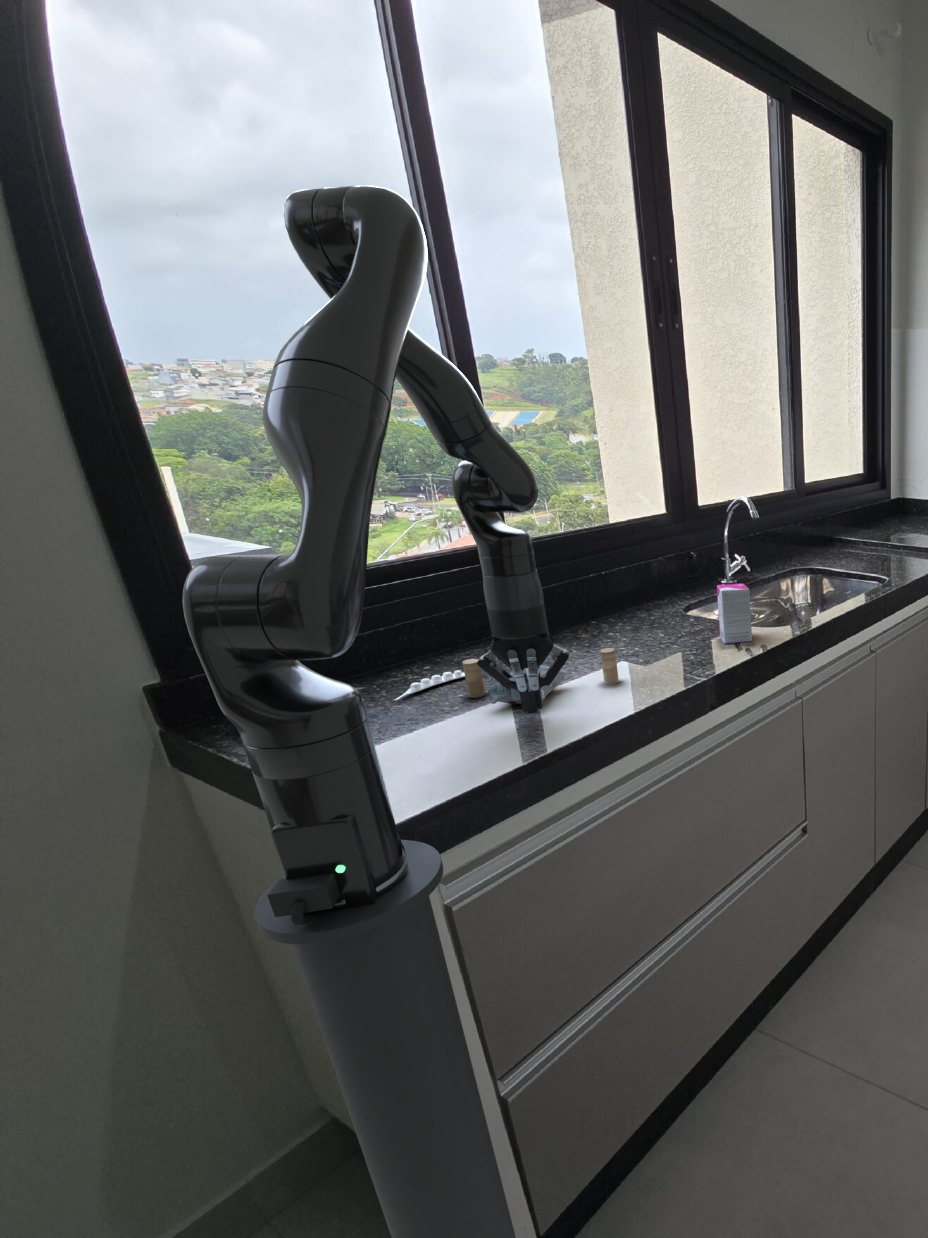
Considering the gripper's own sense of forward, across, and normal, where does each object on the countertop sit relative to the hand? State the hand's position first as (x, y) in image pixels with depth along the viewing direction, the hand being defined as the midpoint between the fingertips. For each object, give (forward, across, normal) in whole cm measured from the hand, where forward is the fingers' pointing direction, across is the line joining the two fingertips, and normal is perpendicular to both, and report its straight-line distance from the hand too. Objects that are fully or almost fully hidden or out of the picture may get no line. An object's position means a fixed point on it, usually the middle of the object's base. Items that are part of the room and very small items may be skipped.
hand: (534, 711), depth 114 cm
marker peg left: (+1, -10, +13) cm, 17 cm away
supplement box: (+1, +34, +31) cm, 46 cm away
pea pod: (+2, -18, +20) cm, 27 cm away
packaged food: (+2, -1, +10) cm, 10 cm away
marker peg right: (+1, +11, +13) cm, 17 cm away
